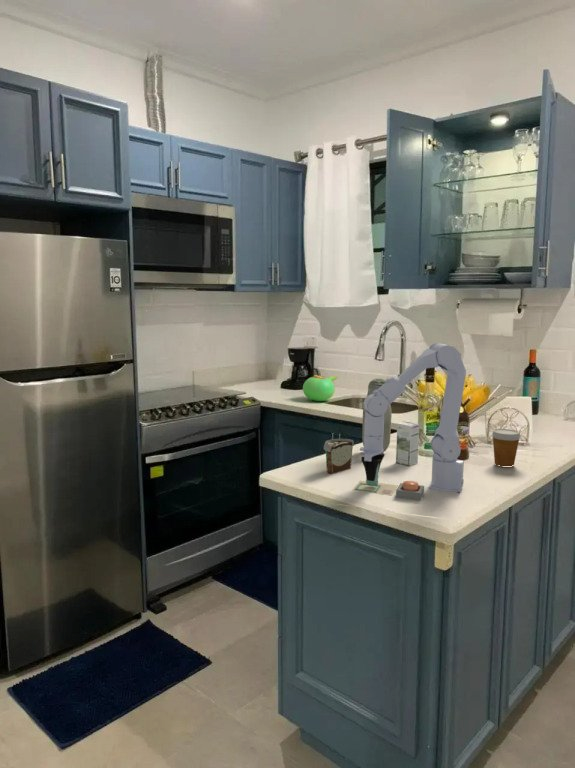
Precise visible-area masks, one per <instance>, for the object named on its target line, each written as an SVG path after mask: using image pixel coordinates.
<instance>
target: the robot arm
mask: <svg viewBox="0 0 575 768" xmlns="http://www.w3.org/2000/svg"><path fill="white" fill-rule="evenodd" d="M432 368H440V369H441V370H442V371H443V373H444V374H446V381H445V387H444V394H443V400H442V405H441V413H440V419H439V425H438V427H437V428H436V429H435V432H434V436H433V437H432V439H431V441H430V448H431V451H433V454H432V460H431V461H432V465H431V481H430V483H429V485H428V489H432V490H440V491H449V492H456V493H461V492H462V489H463V487H464V486H463V485H464V482H465V481H464V468H465V467H464V466H465V465H464V464H465V462H464V460H462V459H458V458H459V456H460V455H461V450H462V449H461V446H460V436H459V433H458V426H459V420H460V419H459V418H460V413H461V412H460V411H461V407H462V401H463V395H464V387H465V381H466V375H467V370H466V367H465V364H464V362H463V359H462V353H461V352H460V351H459V350H458V349H457V348H456V347H455V346H454V345H450V344H444V343H441V342H434V343H432V344H431V345H430V346H429V348H426V349H425V350H423V352H422V353H420V355H419V356H418V357H417V358H416V359H414V361H413V362H412V363H411V364H409V366H408V367H406V368H405V369H404V370H403V372H402V373H401V374H400V375H399V376H396V377H395V376H391V377H390V378H388V377H387V378H386V379H384V380H385V382H386V383H385V384H383V385H382V386H381V387H380V388H379V389H378V390H377V391H376V390H374V391H373V393H374V394H372V395H369V396H367V395H366V397H365V398H364V401H363V403H362V407H363V408H364V409H365V410H366V411H365V425H364V446H361V447H360V448H359V451H362V452H363V454H364V455H363V456H361V458H360V459H361V463H362V466H363V468H364V472H365V476H366V477H367V480H369V481H374V480H375V476H376V470H377V467H378V464H379V469H378V474H379V472H380V467H381V465H382V462H383V459H384V456H385V453H384V452H383V451H384V450H383V432H384V413H385V412H386V410H387V406H388V405H391V404H392V403H393V402H394V401H396V400H397V399H398V398H399V397H400V396H401V395H402V394H403V393H405V392H406V386H407V385H408V384H409V383H410V382H411V381H413V380H414V379H415V378H417V377H418V376H419V375H420V374H421V373H423V372H424V371H425V370H427V369H432ZM366 477H365V478H366Z"/></svg>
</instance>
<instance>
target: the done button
mask: <svg viewBox="0 0 575 768" xmlns="http://www.w3.org/2000/svg"><path fill="white" fill-rule="evenodd" d="M402 483H403V490H409V491H417V492H418V485H419V483H418V482H417V481H414V480H405V481H403V482H402Z"/></svg>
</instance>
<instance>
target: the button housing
mask: <svg viewBox="0 0 575 768" xmlns="http://www.w3.org/2000/svg"><path fill="white" fill-rule="evenodd" d="M424 494H425V485H422V484H421V485H420V484H418V492H417V491H409V490H403V482H400V483H399V484H398V487H397V488H396V490H395V498H396V499H402V500H403V499H404V500H409V501H410V500H412V501H418V502H421V501H422V498H423V497H424Z"/></svg>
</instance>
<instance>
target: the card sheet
mask: <svg viewBox="0 0 575 768" xmlns="http://www.w3.org/2000/svg"><path fill="white" fill-rule="evenodd" d="M398 486H399V484H390V483H380V482H378V485H377V486H369V485H366V480H359V481H358V483H357V484H355V486H354V487H353V488H352V491H354V492H363V493H369V494H370V493H371V494H377V495H385V496H393V494H394V493H395V492H396V489H397V488H398Z"/></svg>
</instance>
